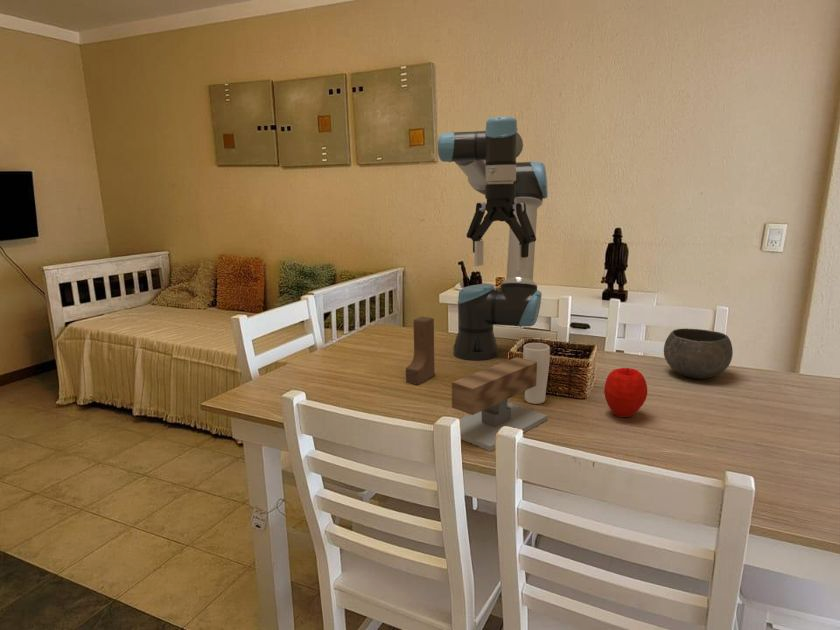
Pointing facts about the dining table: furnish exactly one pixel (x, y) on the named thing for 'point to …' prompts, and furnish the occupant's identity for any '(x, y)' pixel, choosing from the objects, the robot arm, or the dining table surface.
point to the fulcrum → (497, 423)
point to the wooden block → (422, 352)
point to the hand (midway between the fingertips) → (499, 268)
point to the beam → (493, 385)
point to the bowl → (698, 352)
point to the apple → (625, 391)
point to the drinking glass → (542, 357)
